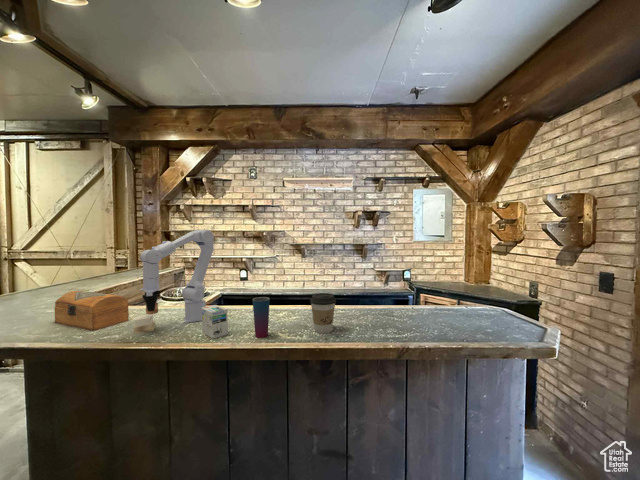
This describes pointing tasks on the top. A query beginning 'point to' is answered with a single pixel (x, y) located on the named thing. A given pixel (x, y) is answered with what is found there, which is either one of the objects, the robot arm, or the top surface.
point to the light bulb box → (214, 321)
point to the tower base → (145, 328)
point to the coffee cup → (323, 311)
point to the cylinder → (154, 309)
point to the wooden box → (90, 310)
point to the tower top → (143, 320)
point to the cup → (261, 316)
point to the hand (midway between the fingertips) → (151, 309)
